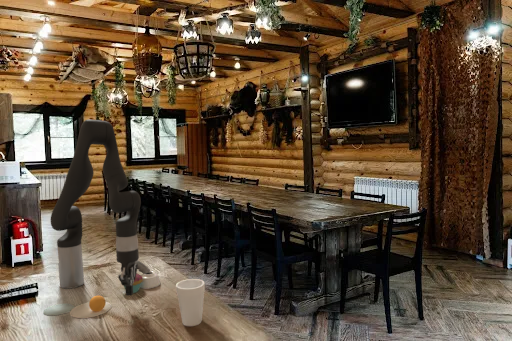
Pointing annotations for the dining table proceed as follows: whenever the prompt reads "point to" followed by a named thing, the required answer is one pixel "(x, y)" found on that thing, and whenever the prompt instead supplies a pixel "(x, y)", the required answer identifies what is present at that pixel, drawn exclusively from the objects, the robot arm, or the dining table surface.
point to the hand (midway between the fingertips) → (129, 294)
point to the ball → (97, 303)
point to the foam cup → (191, 300)
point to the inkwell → (147, 276)
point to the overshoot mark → (58, 309)
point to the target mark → (88, 311)
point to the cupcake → (137, 283)
